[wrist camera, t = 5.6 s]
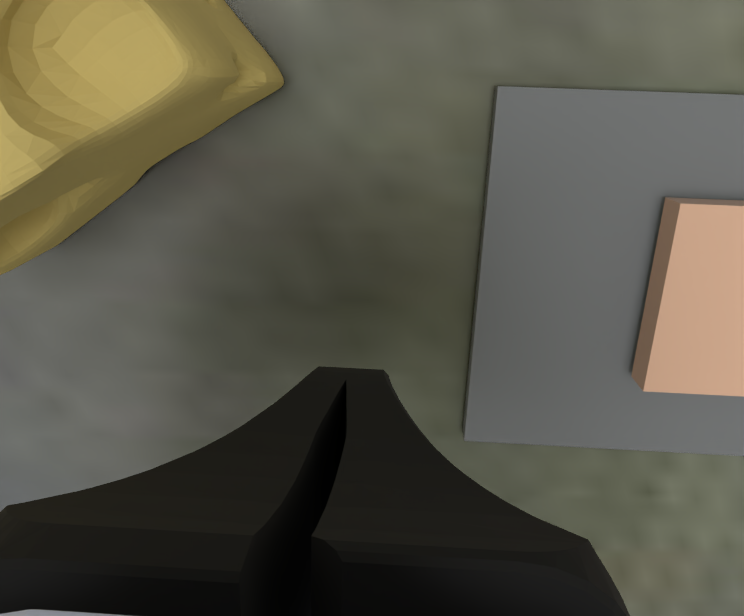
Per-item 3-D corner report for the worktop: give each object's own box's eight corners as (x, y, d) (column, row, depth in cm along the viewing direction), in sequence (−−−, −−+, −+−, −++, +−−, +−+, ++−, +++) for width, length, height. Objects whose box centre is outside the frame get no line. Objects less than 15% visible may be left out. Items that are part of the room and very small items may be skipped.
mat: (823, 451, 22) (834, 461, 22) (462, 432, 23) (464, 440, 22) (935, 101, 18) (952, 102, 18) (495, 86, 19) (497, 86, 18)
